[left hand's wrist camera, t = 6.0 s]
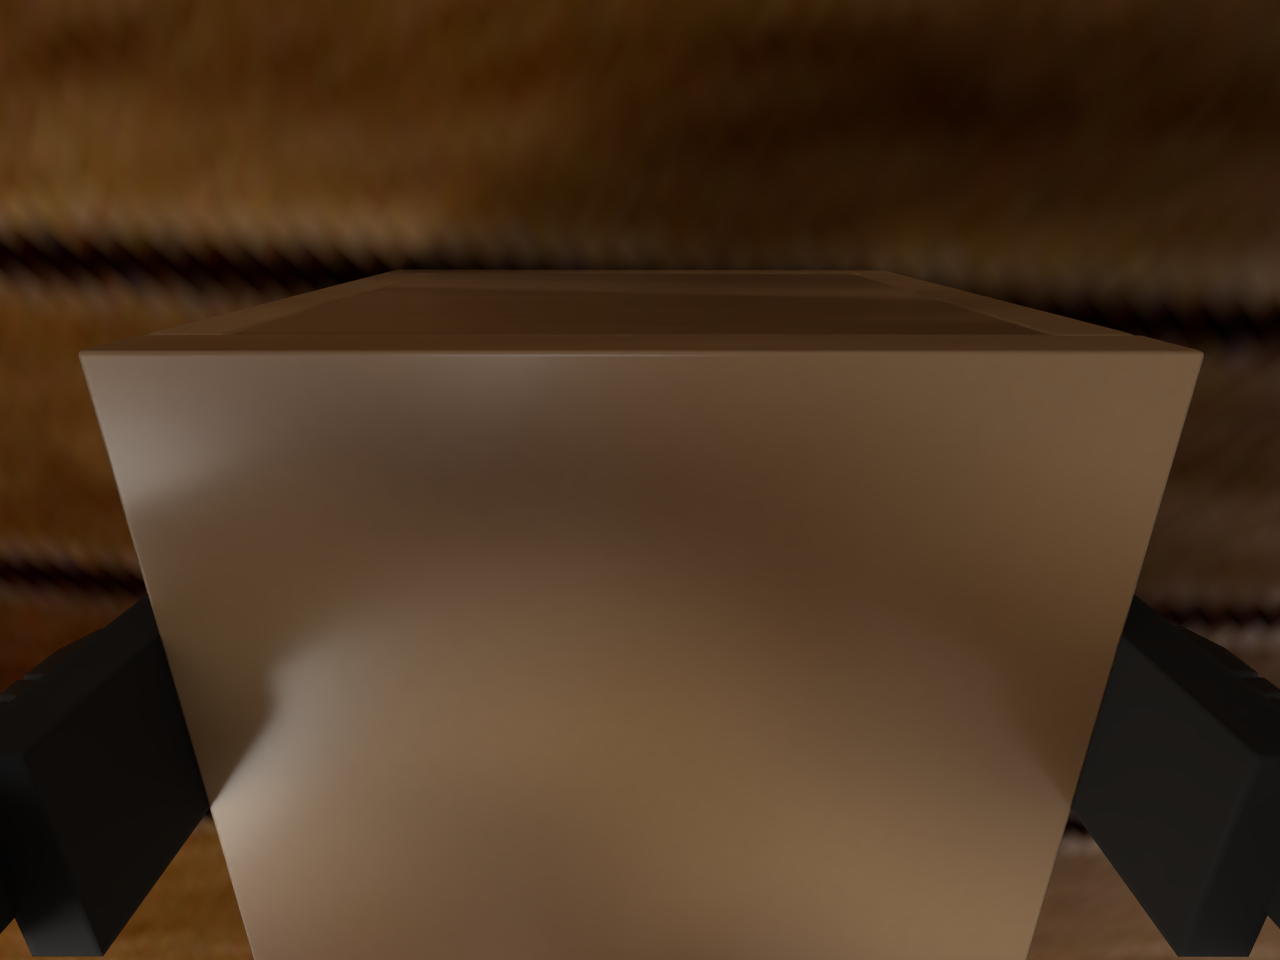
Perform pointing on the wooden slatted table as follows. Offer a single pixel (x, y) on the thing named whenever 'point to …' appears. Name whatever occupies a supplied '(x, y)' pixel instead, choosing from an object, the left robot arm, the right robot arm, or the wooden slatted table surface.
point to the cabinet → (640, 604)
